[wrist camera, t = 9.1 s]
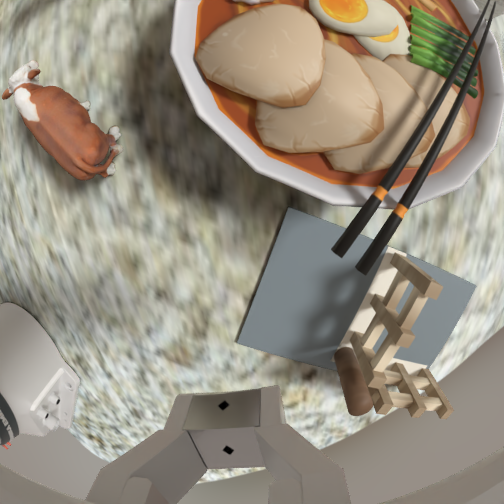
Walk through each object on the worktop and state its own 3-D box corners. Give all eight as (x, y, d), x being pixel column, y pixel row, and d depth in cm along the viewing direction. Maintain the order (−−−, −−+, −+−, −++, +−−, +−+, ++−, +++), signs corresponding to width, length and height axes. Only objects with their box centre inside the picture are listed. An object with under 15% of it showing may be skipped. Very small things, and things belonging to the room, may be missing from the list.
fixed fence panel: (428, 368, 26) (453, 410, 19) (422, 377, 27) (446, 419, 20) (364, 354, 26) (384, 403, 19) (358, 363, 26) (376, 413, 20)
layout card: (414, 384, 27) (416, 386, 27) (237, 341, 27) (236, 343, 26) (474, 284, 23) (476, 286, 23) (288, 206, 23) (288, 207, 22)
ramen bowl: (297, -69, 14) (301, -118, 7) (487, 62, 17) (537, 46, 9) (138, 111, 21) (83, 93, 13) (366, 262, 24) (403, 305, 16)
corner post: (347, 363, 27) (364, 417, 19) (329, 358, 27) (343, 414, 19) (356, 347, 26) (377, 400, 19) (339, 342, 26) (356, 396, 19)
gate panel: (360, 342, 25) (380, 388, 19) (349, 339, 25) (367, 386, 19) (405, 257, 22) (443, 286, 16) (394, 252, 22) (431, 281, 16)
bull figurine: (73, 65, 20) (18, 46, 12) (147, 156, 22) (93, 155, 14) (46, 99, 21) (-11, 90, 13) (114, 191, 23) (55, 206, 15)
